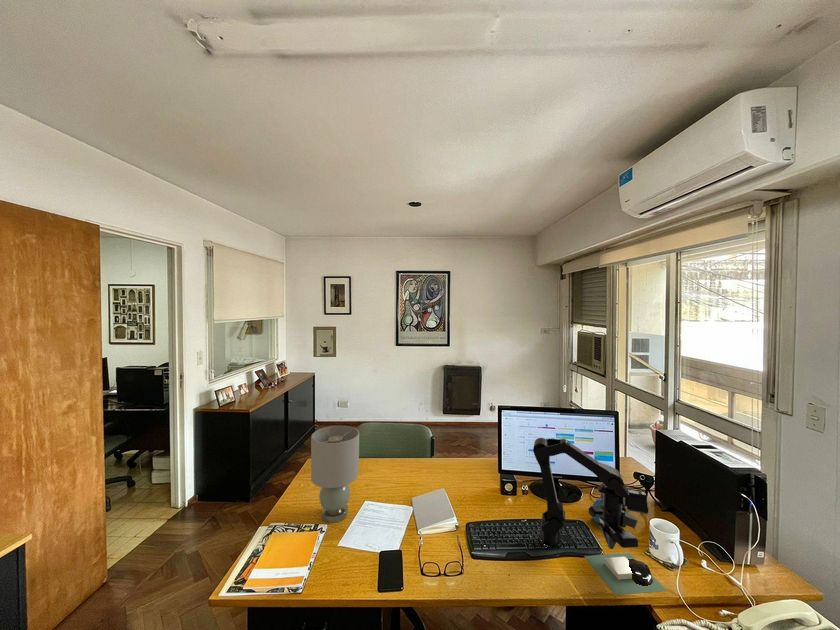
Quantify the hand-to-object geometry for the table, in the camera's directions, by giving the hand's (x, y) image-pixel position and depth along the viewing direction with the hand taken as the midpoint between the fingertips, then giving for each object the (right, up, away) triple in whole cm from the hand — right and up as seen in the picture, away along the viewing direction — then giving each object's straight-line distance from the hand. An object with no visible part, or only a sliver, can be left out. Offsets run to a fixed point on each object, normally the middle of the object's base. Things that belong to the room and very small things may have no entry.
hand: (610, 548), depth 116 cm
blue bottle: (+10, -4, +21) cm, 24 cm away
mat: (+1, -4, -6) cm, 7 cm away
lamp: (-106, -3, +23) cm, 108 cm away
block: (0, -3, -2) cm, 3 cm away
